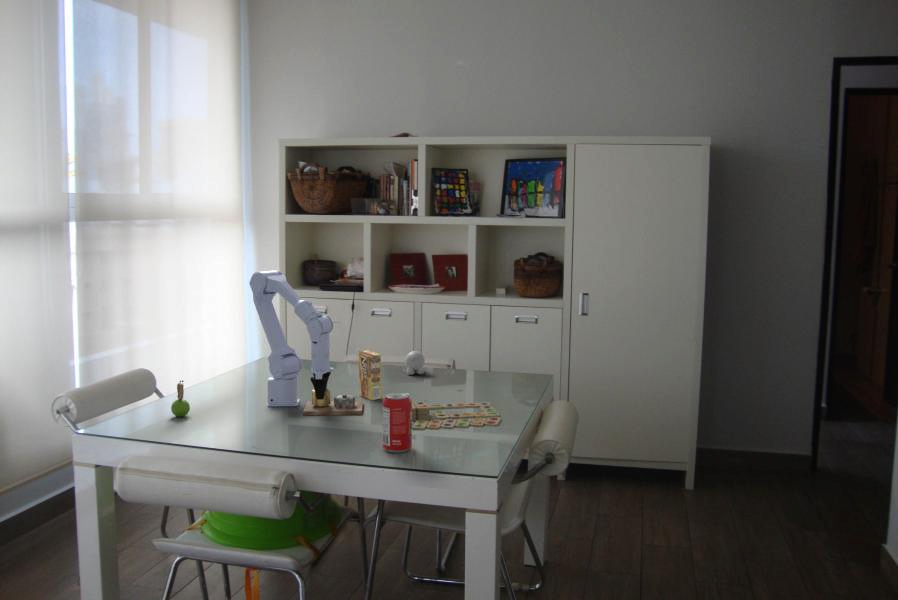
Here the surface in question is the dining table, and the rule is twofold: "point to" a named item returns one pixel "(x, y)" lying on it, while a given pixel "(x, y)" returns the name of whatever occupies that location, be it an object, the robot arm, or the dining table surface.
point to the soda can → (397, 422)
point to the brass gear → (323, 402)
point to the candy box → (370, 374)
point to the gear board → (336, 407)
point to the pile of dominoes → (453, 416)
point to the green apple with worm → (180, 403)
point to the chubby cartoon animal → (414, 363)
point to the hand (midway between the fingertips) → (321, 396)
